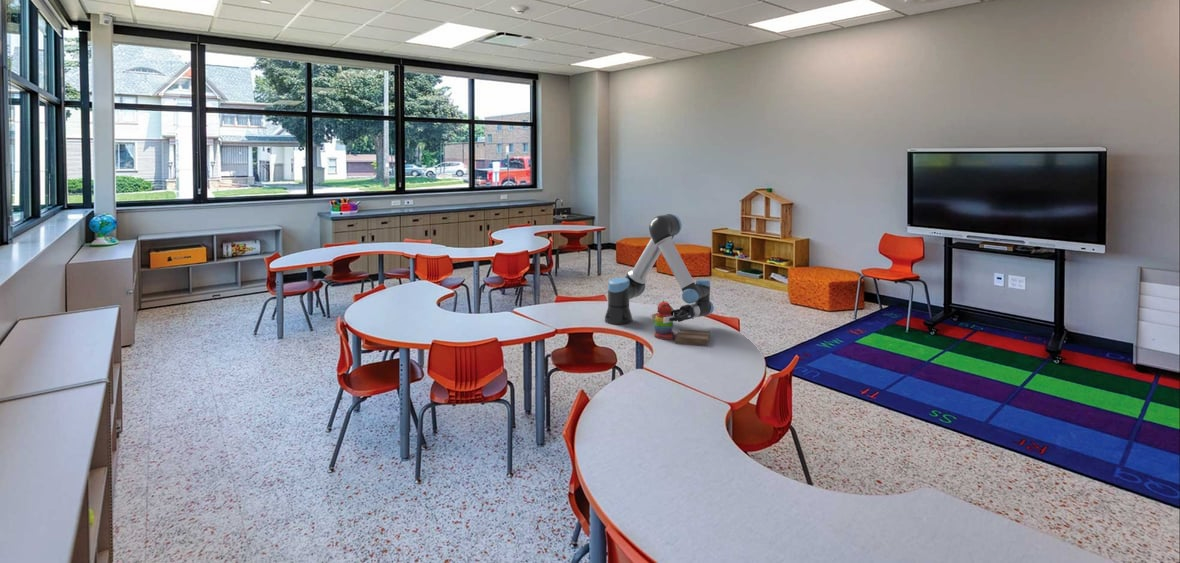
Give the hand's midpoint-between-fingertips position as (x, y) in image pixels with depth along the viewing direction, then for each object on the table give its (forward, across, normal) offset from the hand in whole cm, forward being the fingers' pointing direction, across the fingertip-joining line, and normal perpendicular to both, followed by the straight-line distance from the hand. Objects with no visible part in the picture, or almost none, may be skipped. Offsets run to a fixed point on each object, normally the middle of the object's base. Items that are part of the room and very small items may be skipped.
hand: (657, 318), depth 302 cm
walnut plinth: (-11, -14, -10) cm, 20 cm away
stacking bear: (-5, 0, -10) cm, 11 cm away
